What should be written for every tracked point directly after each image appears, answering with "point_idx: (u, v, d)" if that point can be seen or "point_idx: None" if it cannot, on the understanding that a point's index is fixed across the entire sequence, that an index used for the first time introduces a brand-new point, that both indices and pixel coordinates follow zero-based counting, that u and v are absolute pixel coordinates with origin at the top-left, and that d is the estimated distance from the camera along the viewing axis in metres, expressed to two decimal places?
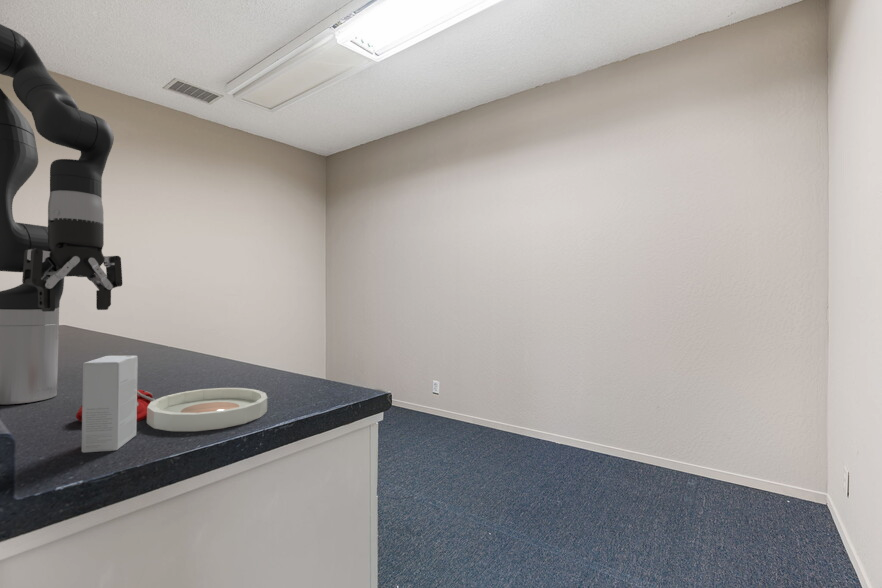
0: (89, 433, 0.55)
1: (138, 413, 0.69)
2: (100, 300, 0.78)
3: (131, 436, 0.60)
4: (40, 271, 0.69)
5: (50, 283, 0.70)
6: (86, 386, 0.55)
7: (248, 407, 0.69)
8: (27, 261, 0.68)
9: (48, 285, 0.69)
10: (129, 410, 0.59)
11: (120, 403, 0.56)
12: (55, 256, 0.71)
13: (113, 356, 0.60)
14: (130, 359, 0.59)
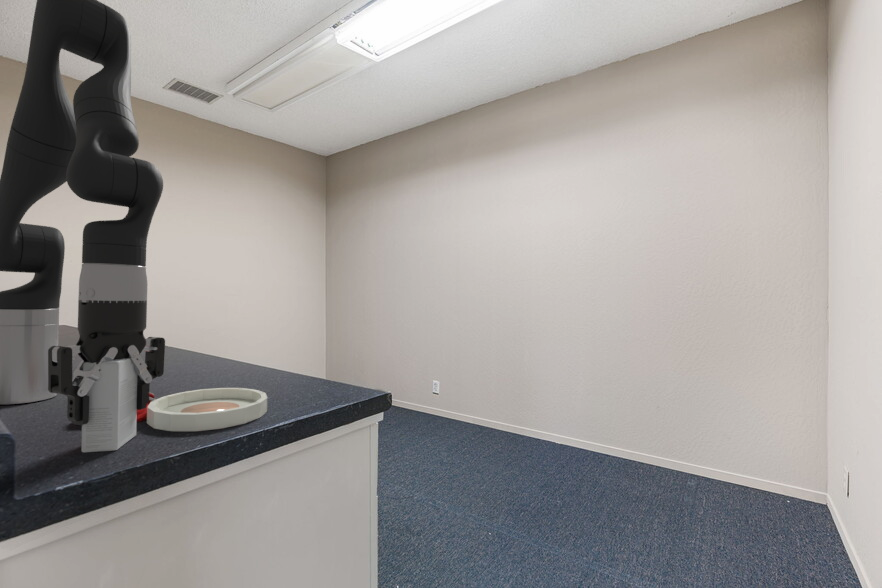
0: (89, 433, 0.55)
1: (139, 414, 0.69)
2: None
3: (131, 436, 0.60)
4: (70, 376, 0.52)
5: (84, 389, 0.54)
6: None
7: (248, 407, 0.69)
8: (53, 363, 0.52)
9: (81, 392, 0.53)
10: (129, 410, 0.59)
11: (120, 403, 0.56)
12: (87, 351, 0.54)
13: None
14: (130, 359, 0.59)
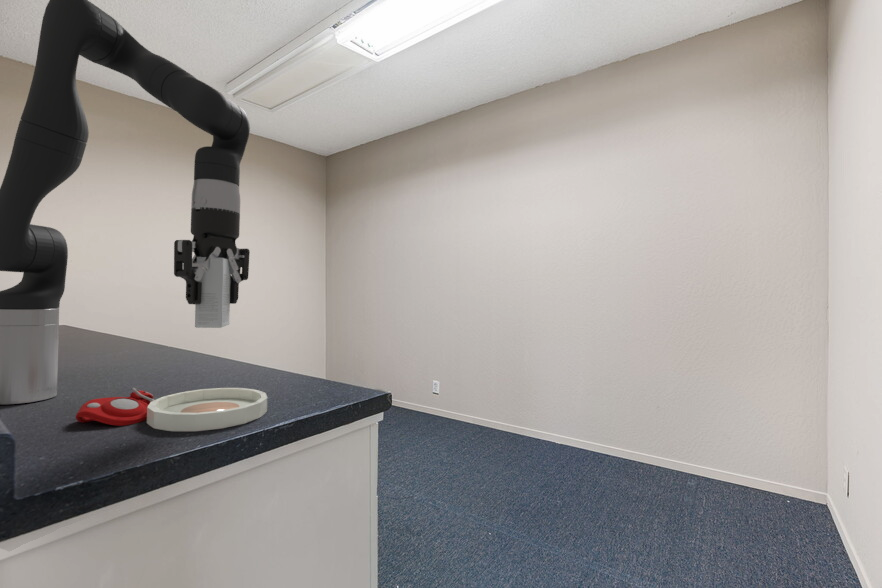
0: (200, 313, 0.70)
1: (138, 414, 0.68)
2: None
3: (227, 323, 0.75)
4: (191, 263, 0.67)
5: (199, 276, 0.68)
6: None
7: (248, 407, 0.69)
8: (178, 253, 0.67)
9: (197, 278, 0.68)
10: (227, 301, 0.74)
11: (223, 291, 0.71)
12: (201, 247, 0.69)
13: None
14: None
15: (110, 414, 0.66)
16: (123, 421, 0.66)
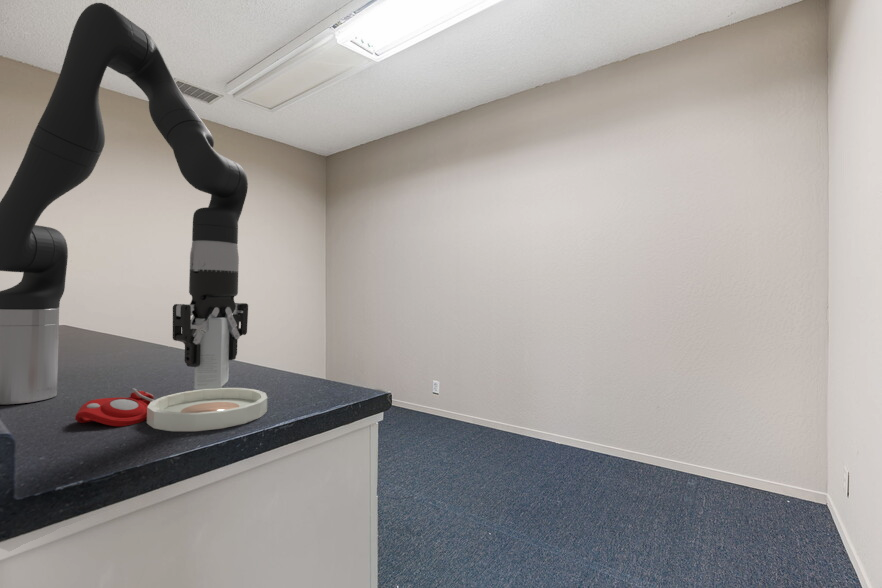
0: (199, 374, 0.70)
1: (138, 415, 0.68)
2: None
3: (226, 380, 0.75)
4: (189, 327, 0.67)
5: (197, 338, 0.68)
6: None
7: (248, 407, 0.69)
8: (176, 317, 0.67)
9: (196, 341, 0.68)
10: (225, 359, 0.74)
11: (222, 351, 0.71)
12: (199, 309, 0.69)
13: None
14: (226, 318, 0.74)
15: (109, 415, 0.66)
16: (122, 422, 0.66)
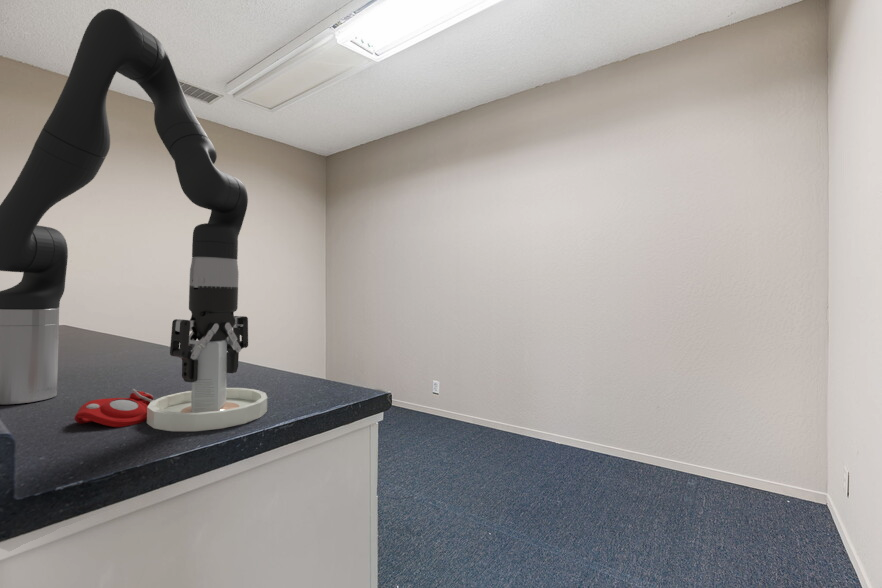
0: (197, 399, 0.70)
1: (137, 415, 0.68)
2: (229, 363, 0.77)
3: (224, 403, 0.74)
4: (187, 343, 0.67)
5: (195, 354, 0.68)
6: None
7: (248, 407, 0.69)
8: (175, 332, 0.67)
9: (193, 356, 0.68)
10: (223, 382, 0.74)
11: (219, 375, 0.71)
12: (199, 325, 0.69)
13: None
14: (223, 341, 0.74)
15: (109, 415, 0.65)
16: (122, 422, 0.65)
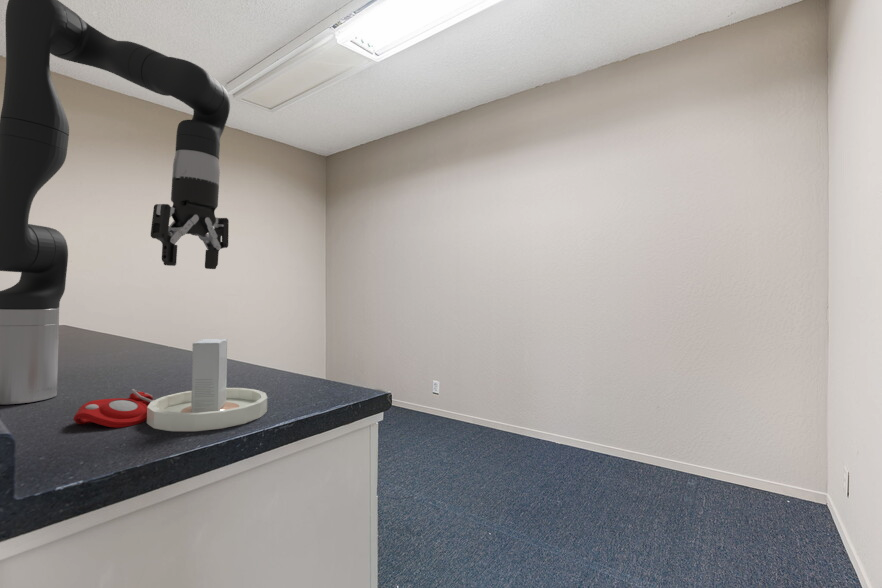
0: (197, 399, 0.70)
1: (137, 416, 0.68)
2: (209, 260, 0.81)
3: (224, 403, 0.74)
4: (167, 226, 0.71)
5: (174, 238, 0.73)
6: (195, 361, 0.69)
7: (248, 407, 0.69)
8: (156, 215, 0.71)
9: (173, 240, 0.72)
10: (223, 382, 0.74)
11: (219, 375, 0.71)
12: (179, 213, 0.73)
13: (209, 339, 0.74)
14: (224, 341, 0.74)
15: (108, 416, 0.65)
16: (121, 423, 0.65)
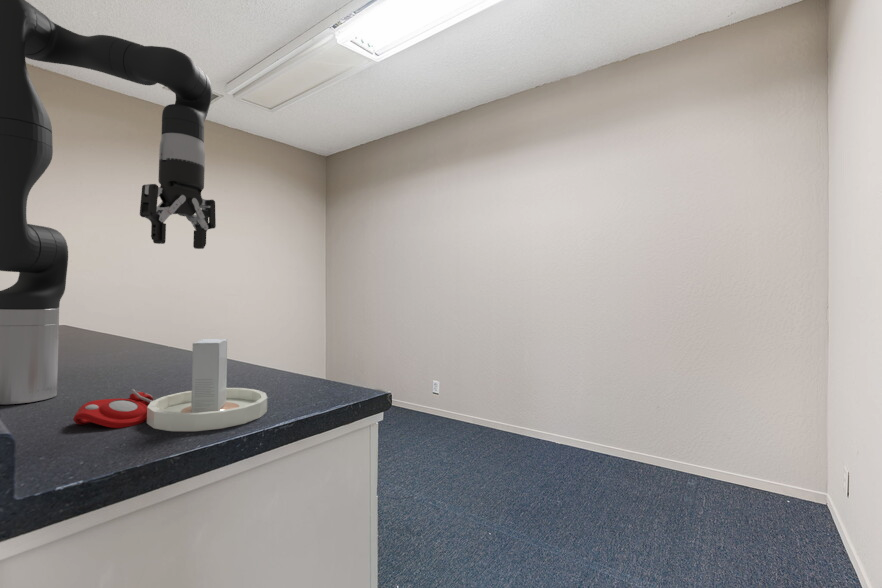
0: (197, 399, 0.70)
1: (137, 416, 0.67)
2: (197, 240, 0.84)
3: (224, 403, 0.74)
4: (156, 205, 0.75)
5: (163, 217, 0.76)
6: (195, 361, 0.69)
7: (248, 407, 0.69)
8: (144, 195, 0.74)
9: (161, 219, 0.76)
10: (223, 382, 0.74)
11: (219, 375, 0.71)
12: (167, 193, 0.77)
13: (209, 339, 0.74)
14: (224, 341, 0.74)
15: (108, 416, 0.65)
16: (121, 423, 0.65)
